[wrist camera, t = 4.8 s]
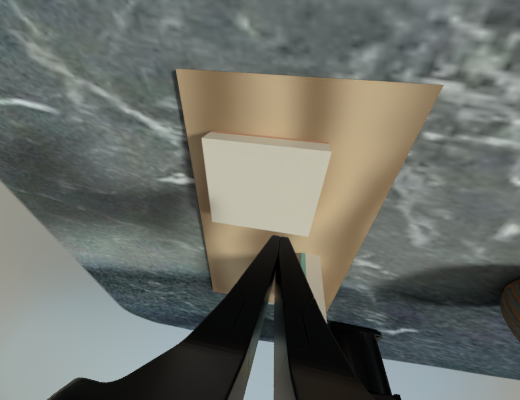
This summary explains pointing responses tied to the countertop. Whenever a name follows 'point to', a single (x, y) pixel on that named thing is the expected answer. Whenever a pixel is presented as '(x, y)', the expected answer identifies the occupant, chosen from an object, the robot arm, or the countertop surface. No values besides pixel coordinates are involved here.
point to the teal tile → (314, 278)
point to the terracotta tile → (264, 180)
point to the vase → (511, 307)
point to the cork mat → (306, 128)
